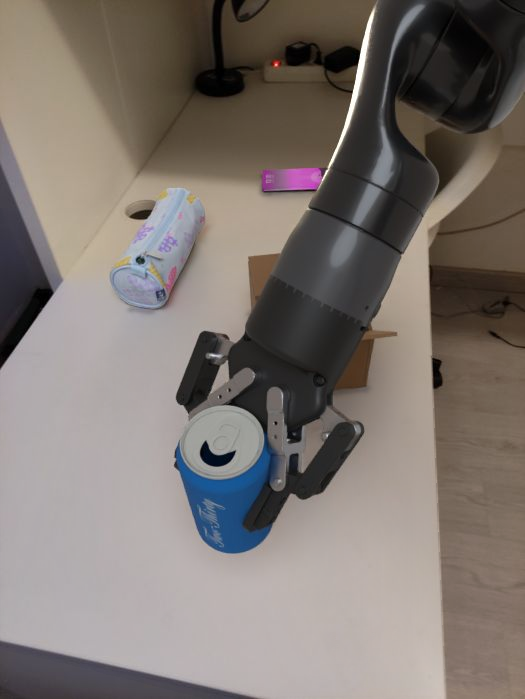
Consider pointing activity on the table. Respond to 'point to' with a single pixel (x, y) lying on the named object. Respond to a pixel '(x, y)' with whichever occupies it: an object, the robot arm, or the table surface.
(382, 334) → the flap
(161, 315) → the table surface
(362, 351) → the carton
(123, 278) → the pencil case
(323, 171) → the smartphone
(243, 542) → the beverage can
